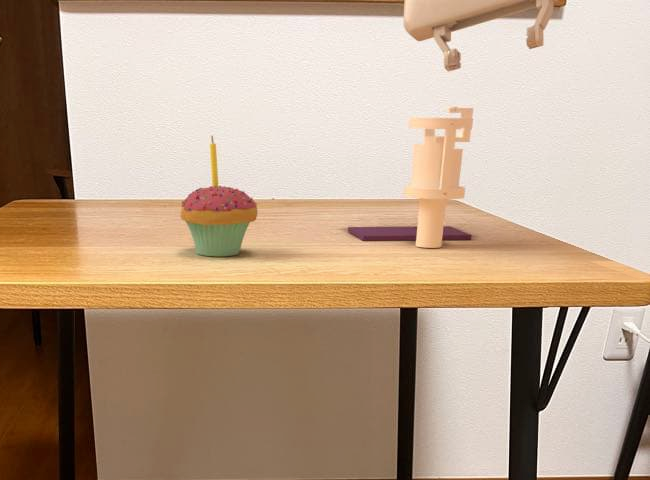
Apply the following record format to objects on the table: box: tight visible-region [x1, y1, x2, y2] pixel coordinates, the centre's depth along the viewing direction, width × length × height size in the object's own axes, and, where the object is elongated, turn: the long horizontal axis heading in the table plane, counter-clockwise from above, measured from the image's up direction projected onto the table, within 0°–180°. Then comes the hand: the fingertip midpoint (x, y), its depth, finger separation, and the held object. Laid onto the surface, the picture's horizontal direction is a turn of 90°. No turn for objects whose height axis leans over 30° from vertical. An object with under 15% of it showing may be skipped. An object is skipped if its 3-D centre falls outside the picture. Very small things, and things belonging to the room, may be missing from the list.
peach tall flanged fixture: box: [402, 106, 474, 249], centre depth 102 cm, size 7×7×15 cm
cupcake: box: [180, 135, 259, 258], centre depth 96 cm, size 9×8×12 cm
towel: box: [347, 225, 472, 242], centre depth 113 cm, size 14×8×1 cm, turn 98°
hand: (492, 57), depth 100 cm, fingers open, 8 cm apart
